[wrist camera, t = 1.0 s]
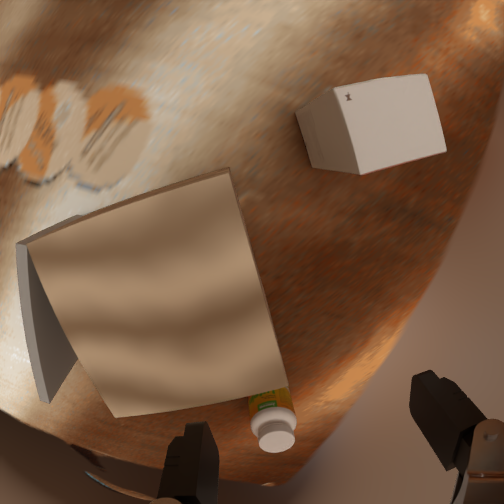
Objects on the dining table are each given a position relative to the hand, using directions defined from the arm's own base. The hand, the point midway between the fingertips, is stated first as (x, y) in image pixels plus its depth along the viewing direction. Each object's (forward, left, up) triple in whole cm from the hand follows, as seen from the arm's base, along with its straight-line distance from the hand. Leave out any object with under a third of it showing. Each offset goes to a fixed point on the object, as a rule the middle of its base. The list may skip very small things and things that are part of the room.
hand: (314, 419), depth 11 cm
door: (-2, -22, -24) cm, 33 cm away
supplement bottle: (+19, -4, -25) cm, 32 cm away
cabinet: (0, -9, -25) cm, 26 cm away
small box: (-10, +11, -25) cm, 29 cm away
